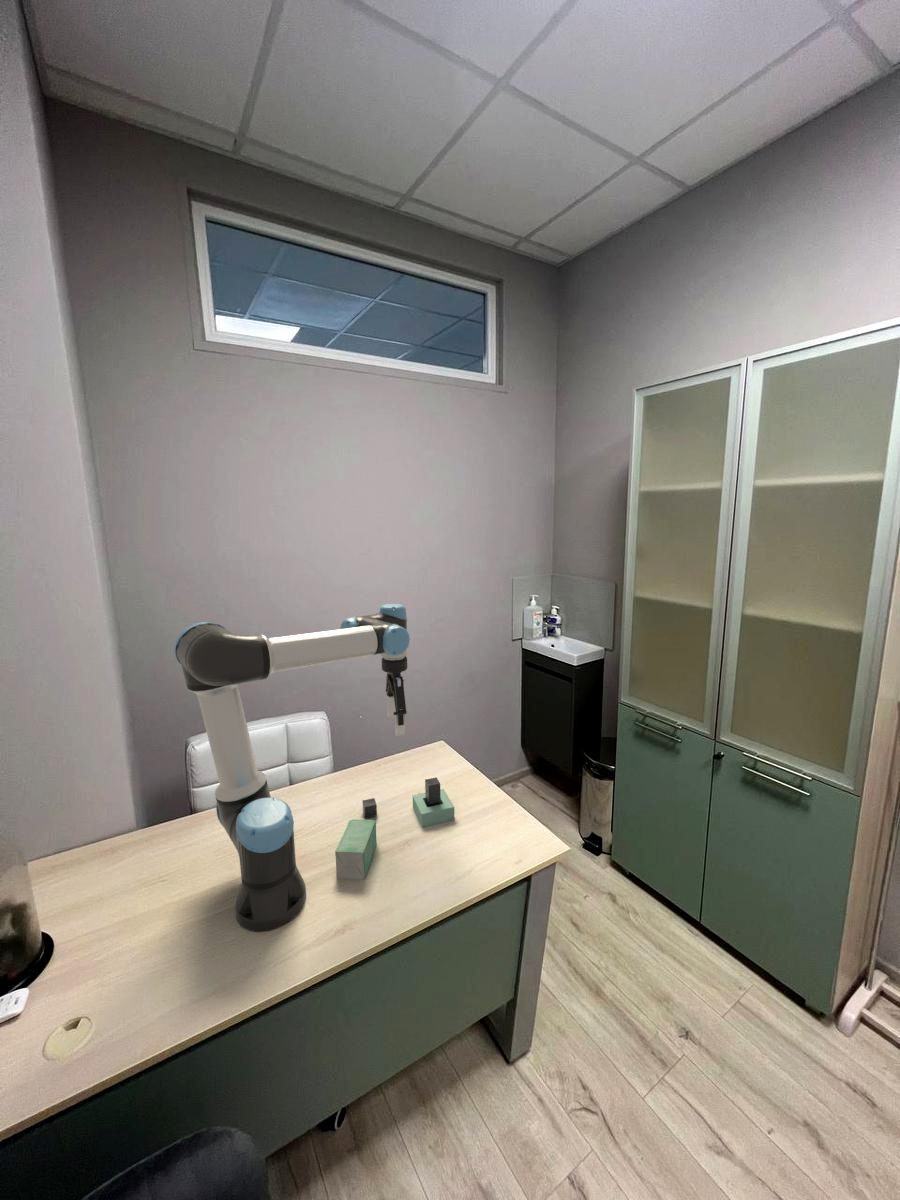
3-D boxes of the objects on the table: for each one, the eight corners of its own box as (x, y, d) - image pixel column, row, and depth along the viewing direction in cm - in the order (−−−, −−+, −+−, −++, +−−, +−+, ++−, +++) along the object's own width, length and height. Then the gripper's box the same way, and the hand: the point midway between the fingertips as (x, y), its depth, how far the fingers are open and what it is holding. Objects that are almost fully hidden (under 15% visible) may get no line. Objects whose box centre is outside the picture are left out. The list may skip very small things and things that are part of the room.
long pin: (440, 815, 141) (440, 783, 139) (429, 818, 140) (428, 785, 138) (437, 808, 145) (436, 777, 143) (425, 811, 143) (425, 779, 142)
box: (377, 843, 130) (376, 818, 128) (365, 880, 116) (363, 852, 115) (351, 842, 130) (349, 817, 129) (336, 879, 117) (334, 852, 116)
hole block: (454, 819, 139) (454, 806, 139) (421, 826, 136) (421, 814, 135) (443, 800, 149) (443, 788, 148) (412, 807, 145) (412, 795, 145)
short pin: (377, 816, 141) (376, 804, 140) (364, 819, 140) (364, 807, 139) (374, 809, 144) (374, 798, 144) (363, 812, 143) (362, 800, 143)
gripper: (416, 667, 128) (417, 741, 132) (398, 645, 152) (400, 708, 155) (388, 670, 126) (390, 745, 130) (375, 647, 150) (377, 711, 153)
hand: (396, 725), depth 142 cm, fingers open, 13 cm apart
